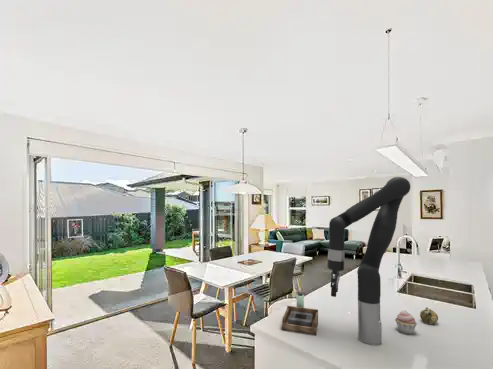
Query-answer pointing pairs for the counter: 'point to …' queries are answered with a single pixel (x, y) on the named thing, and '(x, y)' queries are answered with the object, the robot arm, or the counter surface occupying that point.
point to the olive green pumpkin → (429, 316)
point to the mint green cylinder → (300, 299)
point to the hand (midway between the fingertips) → (334, 294)
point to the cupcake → (405, 322)
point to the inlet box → (300, 320)
